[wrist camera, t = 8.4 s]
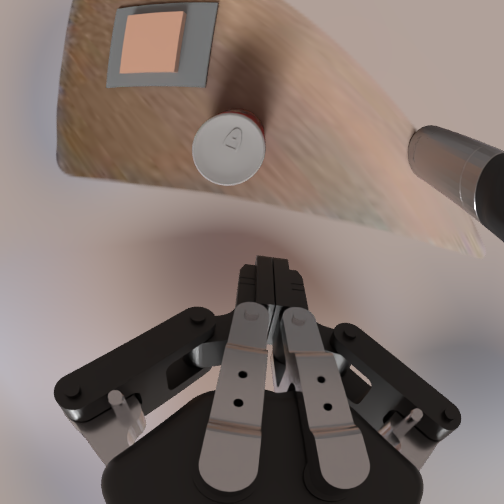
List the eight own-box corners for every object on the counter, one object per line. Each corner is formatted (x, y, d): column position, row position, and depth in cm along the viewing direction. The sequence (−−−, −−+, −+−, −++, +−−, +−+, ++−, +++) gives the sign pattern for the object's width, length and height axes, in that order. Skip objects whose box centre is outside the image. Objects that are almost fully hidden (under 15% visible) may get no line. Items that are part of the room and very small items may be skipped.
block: (183, 11, 27) (127, 15, 26) (174, 71, 31) (119, 73, 31) (186, 14, 28) (132, 17, 28) (177, 72, 33) (124, 73, 32)
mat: (218, 4, 28) (217, 2, 27) (205, 87, 35) (204, 87, 34) (118, 9, 27) (117, 9, 27) (108, 87, 34) (106, 87, 33)
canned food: (268, 112, 36) (271, 118, 27) (259, 166, 40) (258, 191, 31) (212, 104, 36) (195, 108, 26) (205, 159, 40) (188, 181, 31)
